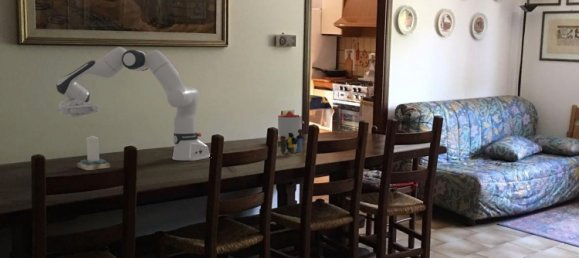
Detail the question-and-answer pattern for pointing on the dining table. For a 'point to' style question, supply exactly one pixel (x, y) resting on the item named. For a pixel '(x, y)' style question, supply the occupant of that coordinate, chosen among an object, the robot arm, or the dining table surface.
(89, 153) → the cream pillar
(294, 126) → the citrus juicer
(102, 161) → the birch base board
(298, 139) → the doll family
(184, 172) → the dining table surface
